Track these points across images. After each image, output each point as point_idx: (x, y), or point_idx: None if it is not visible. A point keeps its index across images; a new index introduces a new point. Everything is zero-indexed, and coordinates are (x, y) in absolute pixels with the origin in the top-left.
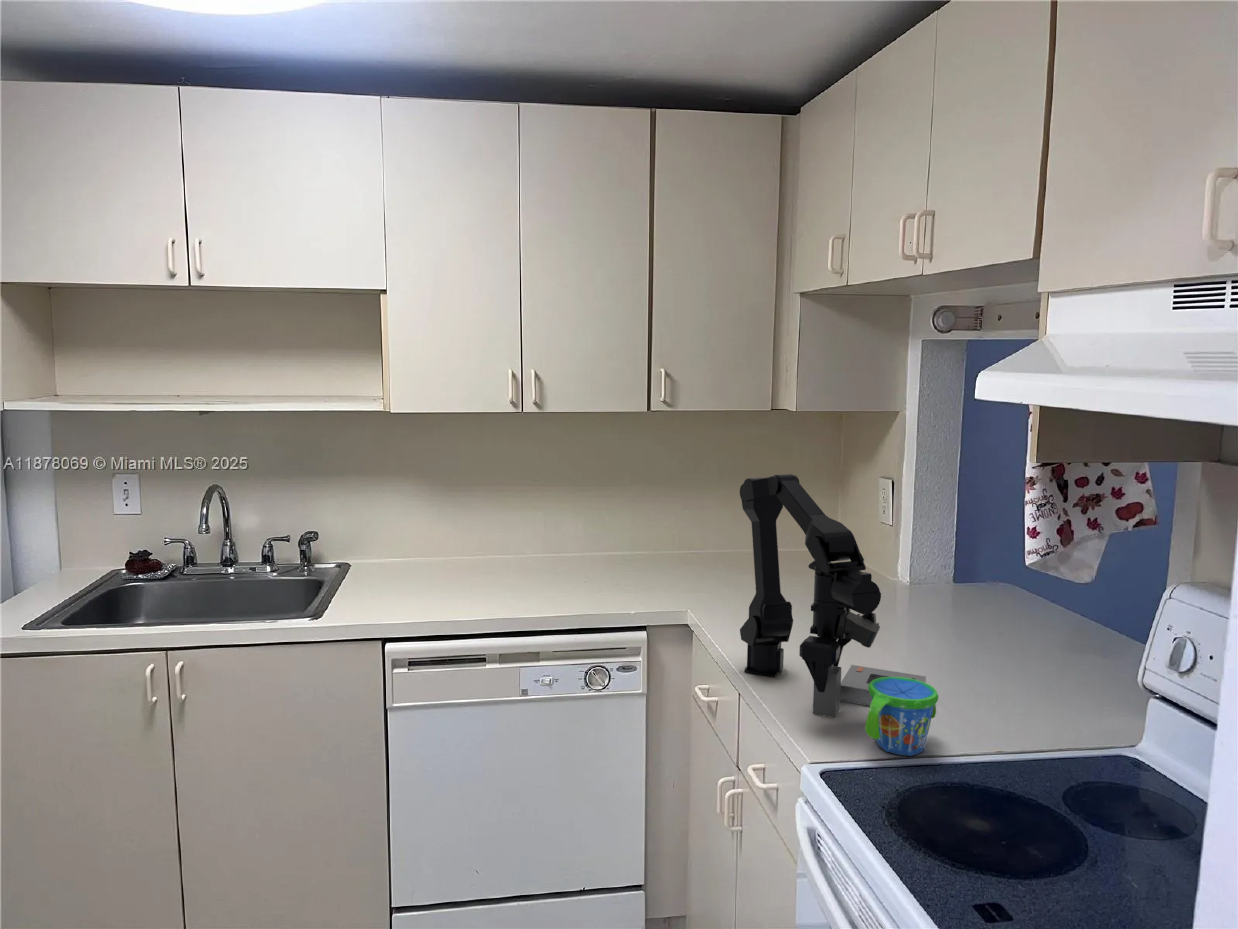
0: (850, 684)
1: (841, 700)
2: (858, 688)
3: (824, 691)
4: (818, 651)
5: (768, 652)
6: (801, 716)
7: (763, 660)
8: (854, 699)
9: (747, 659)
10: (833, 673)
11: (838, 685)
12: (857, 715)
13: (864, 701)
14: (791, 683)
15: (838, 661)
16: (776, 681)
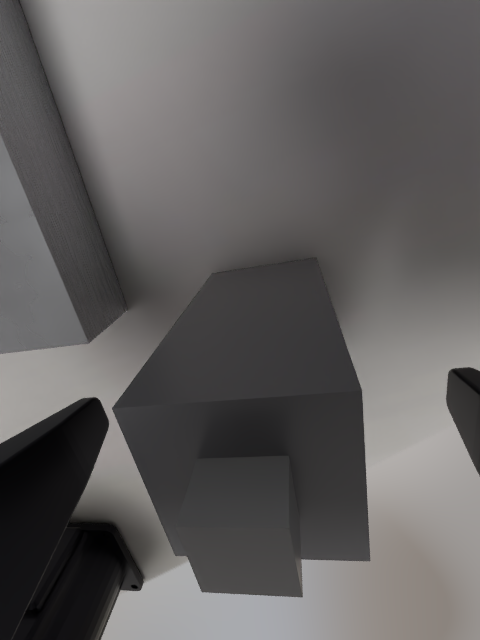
0: (35, 299)
1: (122, 300)
2: (45, 242)
3: (468, 368)
4: None
5: (67, 631)
6: (379, 377)
7: (97, 602)
8: (94, 247)
9: (108, 619)
10: (353, 425)
11: (251, 325)
12: (222, 175)
13: (76, 196)
14: (112, 478)
15: (8, 461)
16: (133, 512)
